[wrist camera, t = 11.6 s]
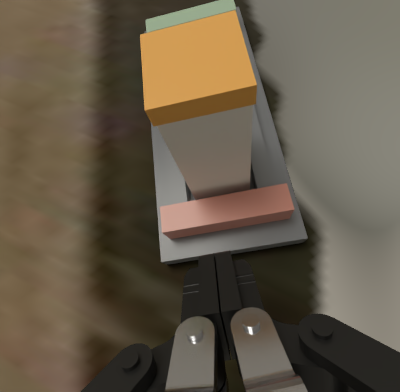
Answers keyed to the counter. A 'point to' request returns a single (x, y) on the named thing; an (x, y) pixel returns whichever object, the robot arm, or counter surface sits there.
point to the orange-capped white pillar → (202, 100)
